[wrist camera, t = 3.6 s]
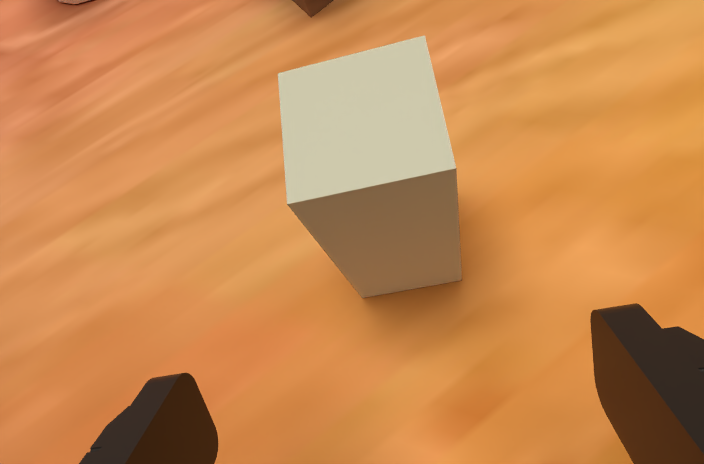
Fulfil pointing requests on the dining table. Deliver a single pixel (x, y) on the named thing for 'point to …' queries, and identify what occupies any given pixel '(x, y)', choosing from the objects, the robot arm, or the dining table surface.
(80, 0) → the white cup
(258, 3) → the dining table surface
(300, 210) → the sage block
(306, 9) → the tower lower
